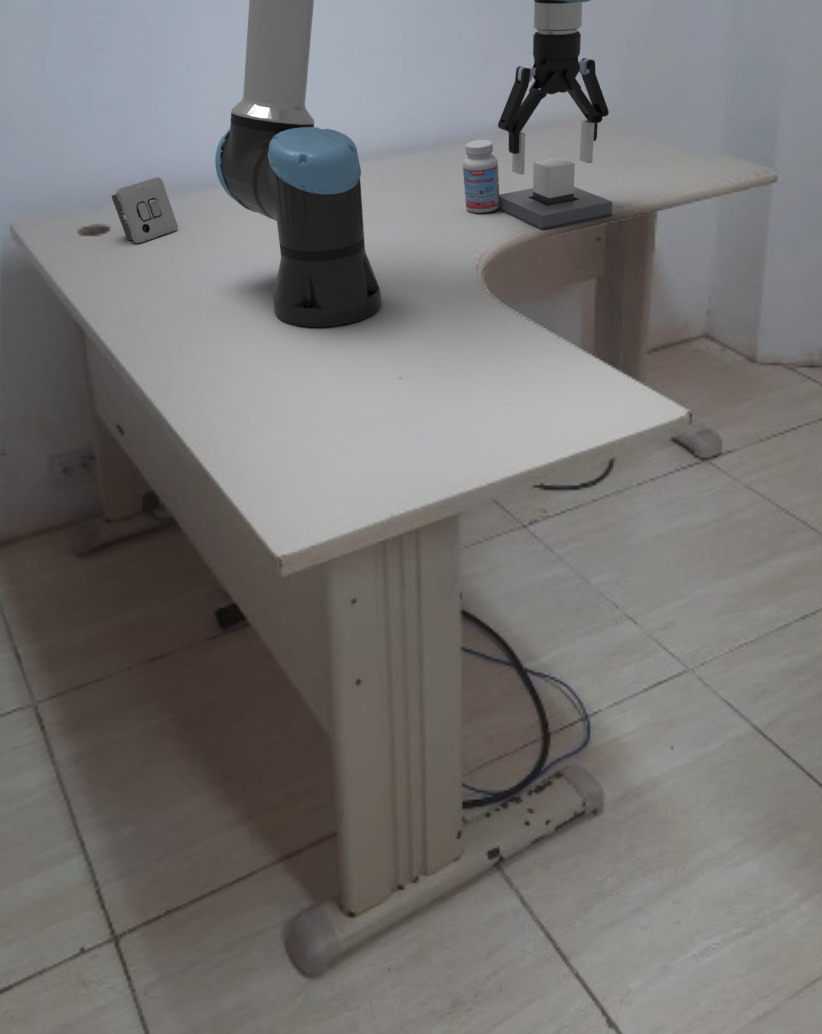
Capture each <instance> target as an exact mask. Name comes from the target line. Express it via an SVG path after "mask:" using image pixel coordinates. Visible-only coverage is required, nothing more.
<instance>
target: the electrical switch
mask: <svg viewBox="0 0 822 1034" xmlns="http://www.w3.org/2000/svg"><path fill="white" fill-rule="evenodd" d="M164 184H165V183H164V182H163V179H162V178H161V177H159V176H157V177H156V176H155V177H152V178H149V179H146V180H142V181H139V182H136V183H132V184H129V185H125V186H121V187H119V188H116V190H115V191H116V192H115V194H113V195H112V194H111V199H112V202H113V204H114V207H115V210H116V213H117V215H118V219H119V221H120V223H121V226H122V227H121V228H122V230H123V232H124V235H125V237H126V241H131V240H132V242H133V243H135V244H136V243H138V244H141V243H144V242H147V241H150V240H153V239H156V238H158V236H159V237H161V235H162V236H164V234H165V235H167V234H169V233H170V234H171V233H173V232H176V231H177V230H178V228H179V227H178V226H179V225H178V223H177V220H176V217H175V214H174V211H173V208H172V205H171V203H170V199H169V197H168V194H167V190H166V188H165V185H164ZM172 231H173V232H172ZM166 233H167V234H166Z"/></svg>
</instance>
